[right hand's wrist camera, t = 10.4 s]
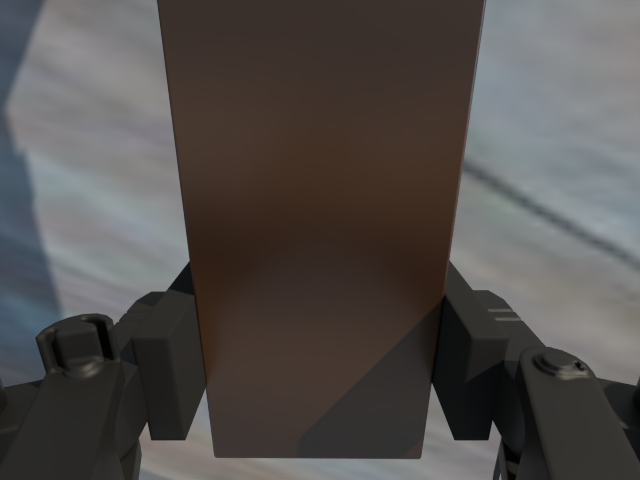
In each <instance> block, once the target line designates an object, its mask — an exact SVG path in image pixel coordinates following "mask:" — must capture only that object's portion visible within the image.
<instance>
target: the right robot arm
mask: <svg viewBox="0 0 640 480" xmlns="http://www.w3.org/2000/svg"><path fill="white" fill-rule="evenodd" d="M36 342H37V345H38V348H39V351H40V354H41V358H42V361H43V364H44V367H45V371H46V375H45V377H44V379H43V380H39V381H34V382H29V383H24V384H19V385H15V386H10V387H5V388H4V387H3V384H2V381H1V379H0V480H138V479H139V471H140V464H141V456H142V454H141V446H140V442H139V436H140V434H141V432H142V430H143V429H144V427H145V425H146V423H147V422H148V427H149V431H150V436H151V440H185V439H186V437H187V434H188V432H189V429H190V426H191V424H192V421H193V419H194V416H195V414H196V411H197V408H198V406H199V403H200V401H201V398H202V396H203V393H204V390H205V388H206V380H205V373H204V365H203V358H202V350H201V343H200V335H199V328H198V320H197V313H196V305H195V297H194V290H193V282H192V274H191V266H190V261H189V263H188V264H187V265H186V266H185V268H184V269H183V270H182V272H181V273H180V274H179V275H178V277H177V278H176V279H175V281H174V282H173V283H172V284H171V286H170V287H169V288H168V290H167V291H166V292H150V293H148V294H147V295H145V296H143V297H142V298H140V299H138V300H137V301H136V302H135V303H134V304H133V305H132V306H131V307H130V308H129V310H128V311H127V313H125V314H124V315H123V316H122V317H121V319H120V320H119V322H117V323H116V324H115V325H113V320H112V319H111V318H110V317H108V316H107V315H102V314H97V313H96V314H82V315H78V316H73V317H69V318H66V319H64V320H61V321H58V322H56V323H54V324H52V325H50V326H49V327H47V328H45V329H44V330H42V331H41V332H40V333H39V335H38V336H37V337H36ZM432 384H433V386H434V389H435V391H436V394H437V396H438V399H439V402H440V404H441V407H442V409H443V412H444V414H445V417H446V420H447V422H448V425H449V427H450V430H451V432H452V435H453V438H454V440H488V439H489V435H490V430H491V425H492V420H493V421H494V423H495V425H496V427H497V429H498V431H499V433H500V435H501V442H500V446H499V451H498V455H497V460H496V464H495V469H494V475H493V480H499V476H500V473H501V478H502V480H640V377H639V380H638V383H637V386H634V385H629V384H624V383H620V382H615V381H610V380H605V379H600V378H596V376H595V374H594V373H593V371H592V370H591V369H590V368H589V366H588V365H587V364H586V363H584V362H583V361H581V360H580V359H578V358H577V357H576V356H573V355H571V354H569V353H567V352H564V351H562V350H558V349H554V348H551V347H546V346H545V345H544V344H543V343H542V342H541V341H540V340H539V338H538V337H537V336H536V335H535V334H534V333H533V332H532V331H531V330H530V328H529V327H528V326H527V325H526V324H525V323H524V322H523V321H521V318H520V317H519V316H518V315H517V314H516V313H515V312H513V309H512V308H511V307H510V306H509V305H508V304H507V303H506V302H505V300H504V299H502V298H500V297H499V296H497V295H495V294H494V293H492V292H490V291H489V290H472V289H471V287H470V286H469V285H468V284H467V282H466V281H465V280H464V278H463V277H462V276H461V275H460V273H459V272H458V271H457V269H456V268H455V267H454V266H453V264H452V263H451V262H450V260H449V265H448V272H447V279H446V286H445V293H444V300H443V307H442V314H441V321H440V328H439V335H438V342H437V349H436V356H435V363H434V370H433V377H432Z"/></svg>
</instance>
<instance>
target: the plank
mask: <svg viewBox="0 0 640 480" xmlns="http://www.w3.org/2000/svg"><path fill="white" fill-rule="evenodd" d="M157 4H158V12H159V20H160V28H161V36H162V44H163V52H164V60H165V68H166V76H167V84H168V92H169V100H170V108H171V115H172V123H173V131H174V139H175V147H176V155H177V163H178V171H179V179H180V187H181V195H182V203H183V211H184V219H185V227H186V235H187V243H188V251H189V259H190V266H191V274H192V282H193V290H194V297H195V305H196V313H197V320H198V328H199V335H200V343H201V350H202V358H203V365H204V373H205V380H206V394H207V402H208V409H209V417H210V425H211V433H212V441H213V449H214V456H215V457H216V458H346V459H420V458H421V454H422V447H423V440H424V433H425V426H426V419H427V412H428V405H429V398H430V391H431V384H432V377H433V370H434V363H435V356H436V349H437V342H438V335H439V328H440V321H441V314H442V307H443V300H444V293H445V286H446V279H447V272H448V265H449V258H450V251H451V244H452V237H453V230H454V223H455V216H456V209H457V202H458V195H459V188H460V181H461V174H462V167H463V160H464V153H465V146H466V139H467V132H468V125H469V118H470V111H471V104H472V97H473V90H474V83H475V76H476V69H477V62H478V55H479V48H480V41H481V33H482V26H483V19H484V12H485V5H486V0H157Z"/></svg>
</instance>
